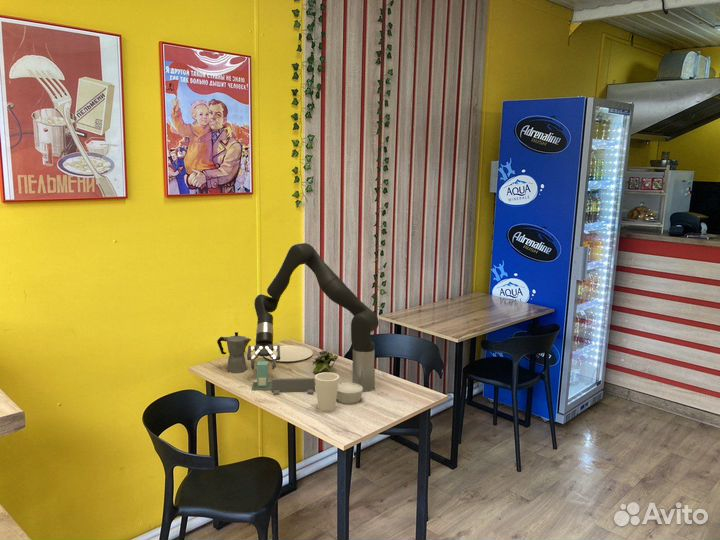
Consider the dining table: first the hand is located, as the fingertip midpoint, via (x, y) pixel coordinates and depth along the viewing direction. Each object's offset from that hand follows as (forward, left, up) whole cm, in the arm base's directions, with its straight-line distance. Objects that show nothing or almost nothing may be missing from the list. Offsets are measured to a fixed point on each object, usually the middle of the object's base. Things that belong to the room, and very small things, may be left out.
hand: (263, 368), depth 242 cm
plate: (+29, -26, -7) cm, 40 cm away
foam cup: (-36, -11, -7) cm, 38 cm away
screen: (-16, -7, -7) cm, 18 cm away
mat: (-3, +1, -7) cm, 8 cm away
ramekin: (-33, -23, -7) cm, 41 cm away
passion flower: (0, -31, -7) cm, 32 cm away
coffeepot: (+22, +5, -7) cm, 24 cm away
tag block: (-3, +2, -6) cm, 7 cm away
